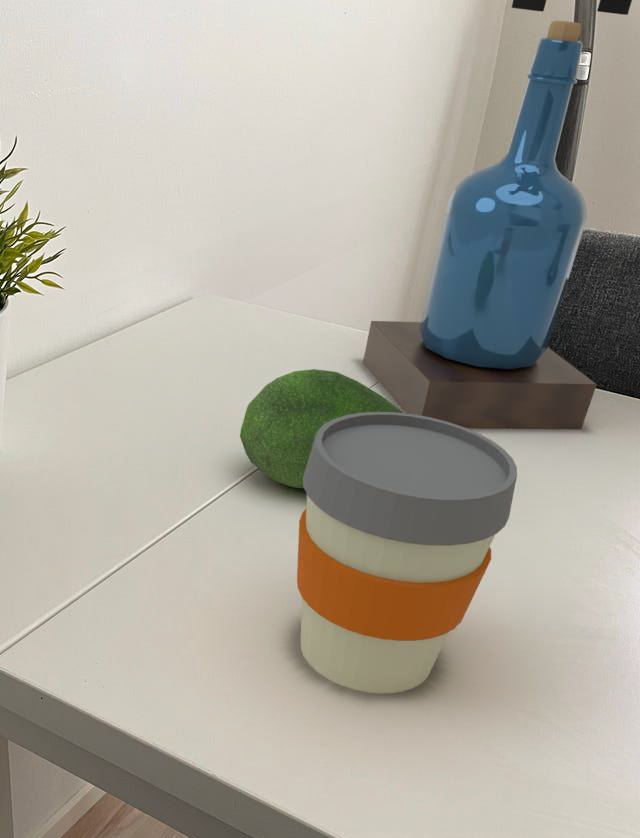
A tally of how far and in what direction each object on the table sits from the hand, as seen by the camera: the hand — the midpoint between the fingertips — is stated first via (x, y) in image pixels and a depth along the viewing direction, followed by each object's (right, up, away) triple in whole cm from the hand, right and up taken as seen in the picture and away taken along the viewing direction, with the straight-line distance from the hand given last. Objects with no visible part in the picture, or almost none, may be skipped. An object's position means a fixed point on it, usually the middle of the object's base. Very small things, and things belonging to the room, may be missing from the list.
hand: (571, 12), depth 88 cm
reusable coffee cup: (-22, -57, -20) cm, 64 cm away
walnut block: (-3, -29, +21) cm, 36 cm away
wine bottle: (-2, -25, +18) cm, 31 cm away
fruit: (-22, -42, 0) cm, 48 cm away
